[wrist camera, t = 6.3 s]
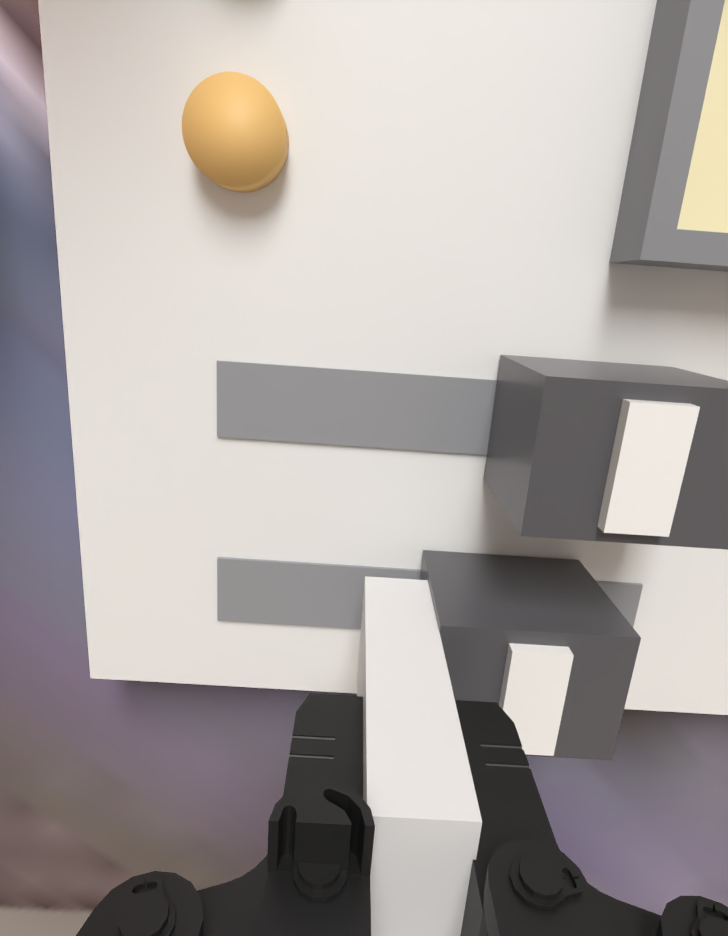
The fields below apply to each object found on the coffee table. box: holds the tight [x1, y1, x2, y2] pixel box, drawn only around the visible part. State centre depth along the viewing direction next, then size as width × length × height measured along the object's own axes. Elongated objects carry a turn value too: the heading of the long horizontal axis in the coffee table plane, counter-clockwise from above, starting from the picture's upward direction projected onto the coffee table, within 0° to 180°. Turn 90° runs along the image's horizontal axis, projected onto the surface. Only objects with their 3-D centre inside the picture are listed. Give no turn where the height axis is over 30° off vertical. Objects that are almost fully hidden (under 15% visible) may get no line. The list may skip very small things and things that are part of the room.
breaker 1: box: [484, 355, 728, 550], centre depth 12 cm, size 4×3×4 cm
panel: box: [38, 0, 728, 715], centre depth 14 cm, size 22×20×4 cm
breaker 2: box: [420, 550, 641, 760], centre depth 14 cm, size 4×3×4 cm
